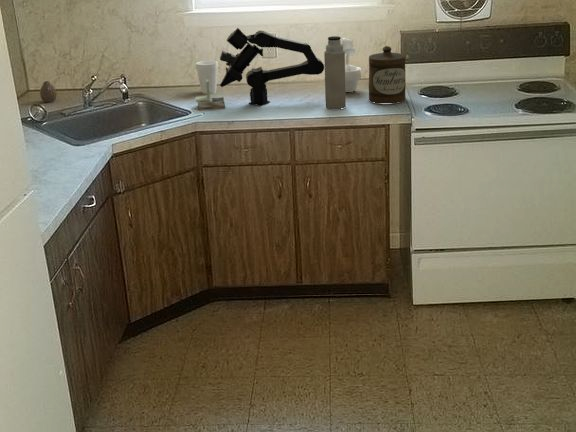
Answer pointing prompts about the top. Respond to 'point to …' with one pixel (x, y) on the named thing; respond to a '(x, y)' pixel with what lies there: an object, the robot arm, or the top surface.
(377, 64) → the wooden container
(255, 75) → the robot arm
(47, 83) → the avocado
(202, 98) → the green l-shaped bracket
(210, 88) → the foam cup
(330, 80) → the thermos bottle
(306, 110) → the top surface
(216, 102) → the station
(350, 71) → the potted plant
